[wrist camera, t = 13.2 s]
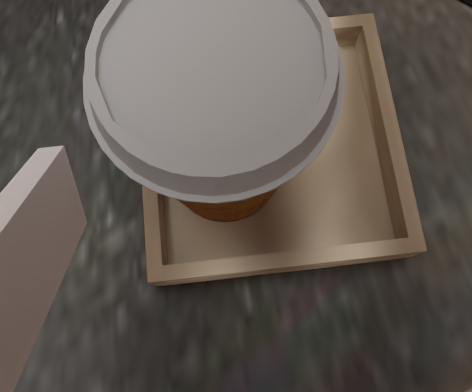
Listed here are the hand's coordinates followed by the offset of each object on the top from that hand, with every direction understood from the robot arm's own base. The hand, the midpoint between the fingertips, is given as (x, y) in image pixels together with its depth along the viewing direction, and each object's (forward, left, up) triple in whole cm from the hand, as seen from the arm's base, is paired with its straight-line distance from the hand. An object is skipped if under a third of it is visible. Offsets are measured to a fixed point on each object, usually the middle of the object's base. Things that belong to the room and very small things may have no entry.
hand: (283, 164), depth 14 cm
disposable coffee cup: (+2, -4, -12) cm, 13 cm away
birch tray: (-1, -5, -13) cm, 14 cm away
